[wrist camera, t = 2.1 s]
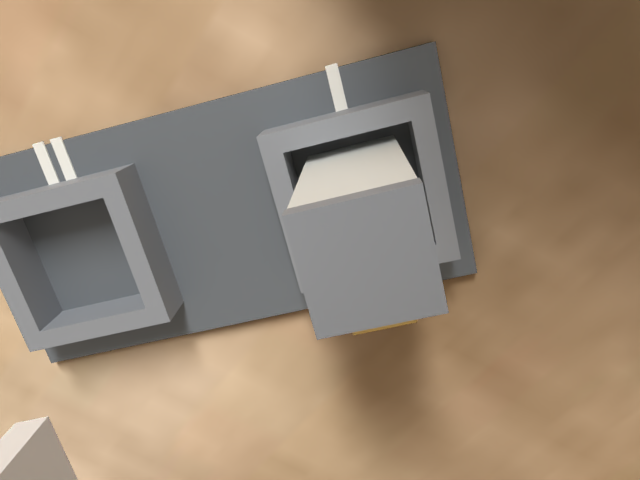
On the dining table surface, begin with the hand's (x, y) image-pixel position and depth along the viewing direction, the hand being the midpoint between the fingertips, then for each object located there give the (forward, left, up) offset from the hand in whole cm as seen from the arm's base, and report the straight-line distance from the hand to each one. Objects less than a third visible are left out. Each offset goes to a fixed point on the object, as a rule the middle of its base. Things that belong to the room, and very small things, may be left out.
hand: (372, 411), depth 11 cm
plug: (0, 0, -19) cm, 19 cm away
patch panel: (0, -7, -19) cm, 21 cm away
